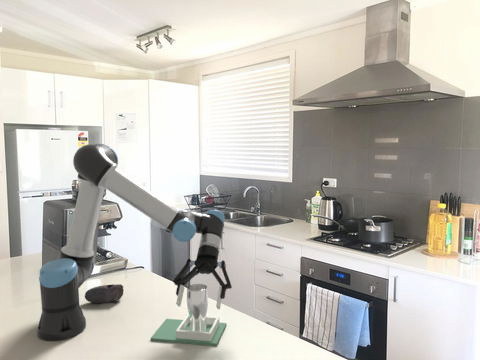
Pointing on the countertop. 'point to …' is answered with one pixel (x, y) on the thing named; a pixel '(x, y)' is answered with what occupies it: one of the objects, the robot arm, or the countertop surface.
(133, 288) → the countertop surface
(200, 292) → the beer glass
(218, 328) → the green board with frame
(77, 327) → the robot arm
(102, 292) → the perforated stone tool
